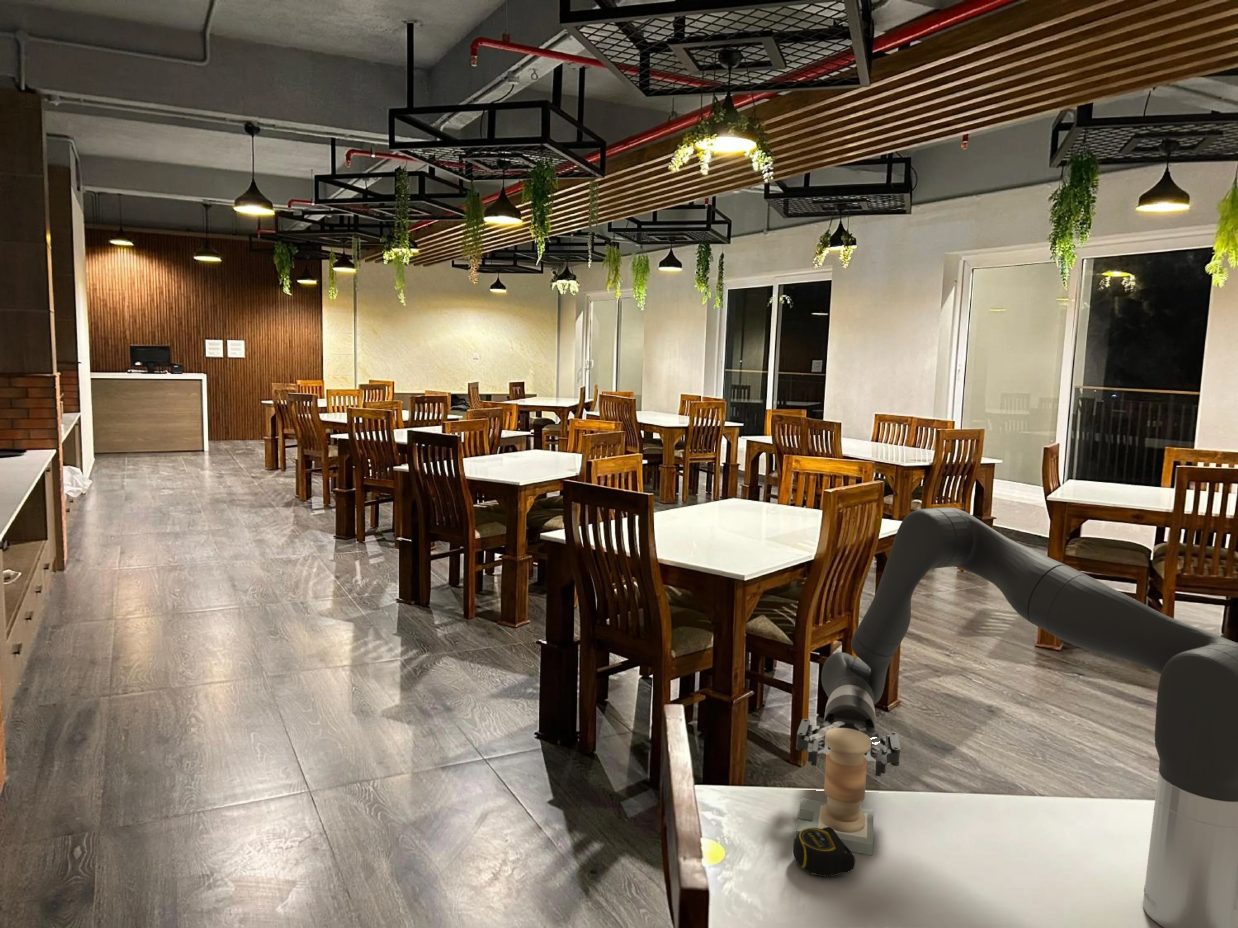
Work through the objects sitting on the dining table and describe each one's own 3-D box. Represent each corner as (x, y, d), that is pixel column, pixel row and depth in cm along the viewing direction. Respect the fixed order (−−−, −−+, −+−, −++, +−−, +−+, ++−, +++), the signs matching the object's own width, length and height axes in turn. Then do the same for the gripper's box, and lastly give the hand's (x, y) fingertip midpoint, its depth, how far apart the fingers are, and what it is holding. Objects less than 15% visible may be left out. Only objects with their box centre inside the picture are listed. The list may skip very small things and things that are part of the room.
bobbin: (865, 813, 121) (871, 731, 120) (864, 835, 116) (870, 750, 114) (821, 805, 123) (826, 725, 122) (818, 827, 117) (824, 743, 116)
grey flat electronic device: (872, 820, 123) (873, 809, 122) (872, 855, 114) (873, 843, 114) (801, 807, 126) (801, 797, 125) (795, 840, 117) (795, 829, 117)
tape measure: (856, 880, 109) (858, 852, 108) (804, 884, 108) (806, 856, 107) (833, 849, 116) (835, 822, 115) (784, 852, 114) (786, 826, 114)
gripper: (804, 687, 136) (794, 730, 120) (900, 700, 132) (902, 746, 116) (801, 732, 137) (791, 781, 121) (896, 747, 133) (898, 799, 117)
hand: (846, 764), depth 119 cm, fingers open, 8 cm apart
